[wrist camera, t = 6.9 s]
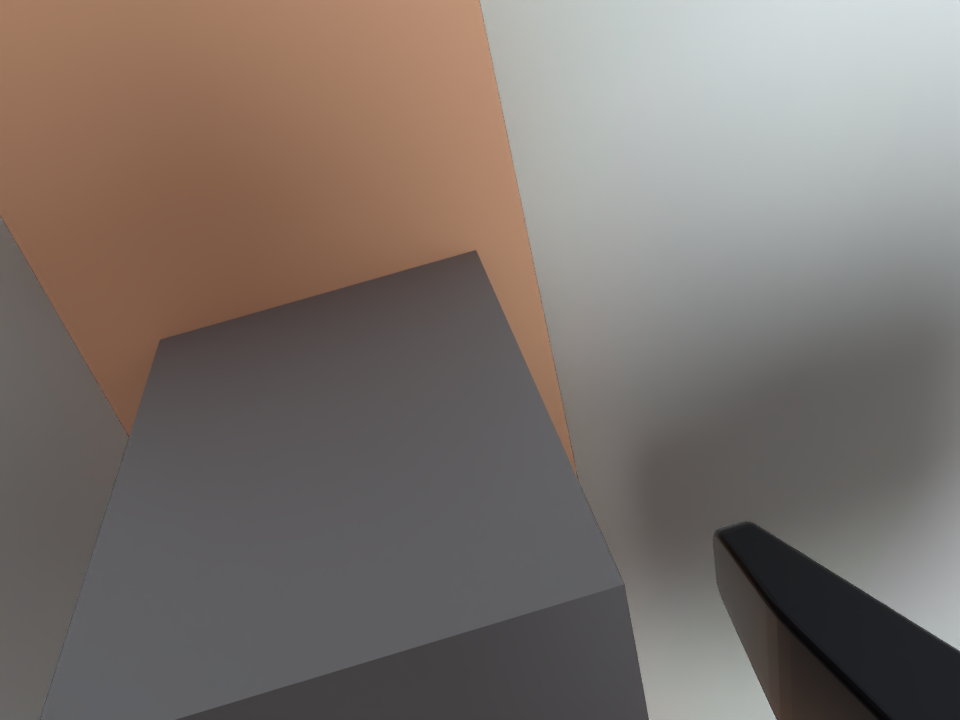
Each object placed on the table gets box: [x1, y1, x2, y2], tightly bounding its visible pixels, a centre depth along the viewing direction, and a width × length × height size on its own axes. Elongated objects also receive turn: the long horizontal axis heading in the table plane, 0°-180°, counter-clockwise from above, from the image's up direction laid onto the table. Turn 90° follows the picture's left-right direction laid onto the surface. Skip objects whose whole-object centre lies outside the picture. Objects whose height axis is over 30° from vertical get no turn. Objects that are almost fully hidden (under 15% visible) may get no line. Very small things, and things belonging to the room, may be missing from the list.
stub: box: [0, 0, 649, 720], centre depth 8 cm, size 16×4×5 cm, turn 13°
